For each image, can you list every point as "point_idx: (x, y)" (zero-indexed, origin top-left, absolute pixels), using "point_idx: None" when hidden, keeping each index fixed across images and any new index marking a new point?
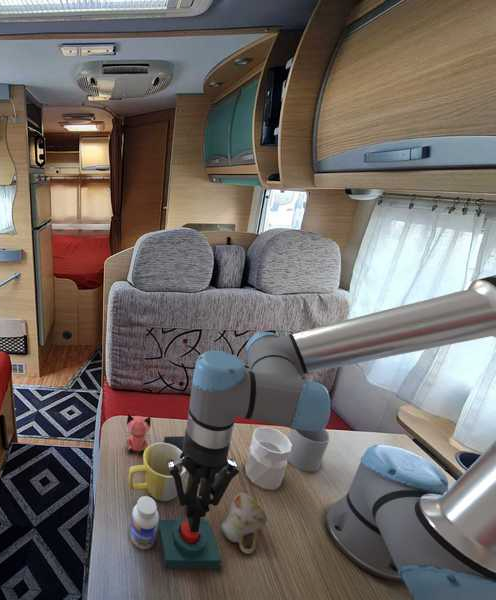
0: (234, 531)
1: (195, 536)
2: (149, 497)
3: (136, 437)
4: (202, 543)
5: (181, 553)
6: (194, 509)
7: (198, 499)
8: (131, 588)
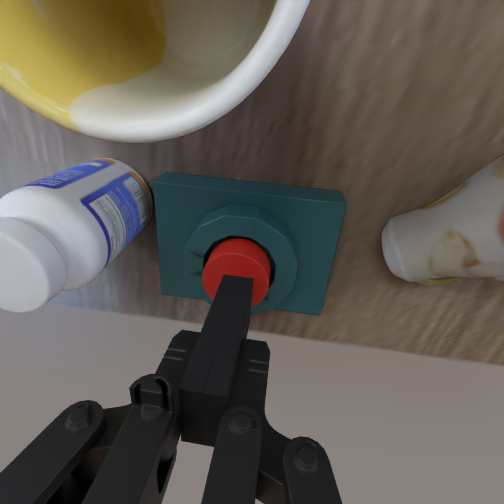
0: (413, 278)
1: None
2: (6, 242)
3: None
4: (271, 302)
5: None
6: (182, 435)
7: (222, 409)
8: (90, 301)
